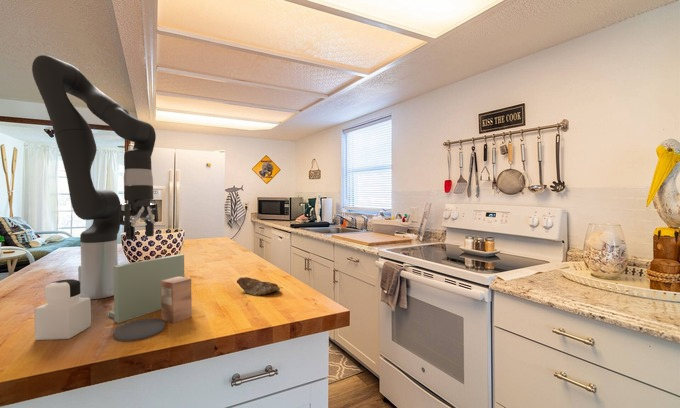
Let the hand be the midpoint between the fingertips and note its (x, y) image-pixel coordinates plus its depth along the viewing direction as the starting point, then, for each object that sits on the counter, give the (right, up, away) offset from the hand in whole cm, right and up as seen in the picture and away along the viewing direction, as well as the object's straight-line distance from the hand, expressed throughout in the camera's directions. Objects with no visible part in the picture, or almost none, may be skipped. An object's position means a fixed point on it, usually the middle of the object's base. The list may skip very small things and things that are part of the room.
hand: (140, 237), depth 97 cm
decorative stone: (+34, -19, +8) cm, 40 cm away
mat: (+14, -19, -23) cm, 33 cm away
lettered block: (+19, -19, -15) cm, 31 cm away
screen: (+7, -19, -9) cm, 22 cm away
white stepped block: (-3, -20, -24) cm, 31 cm away
